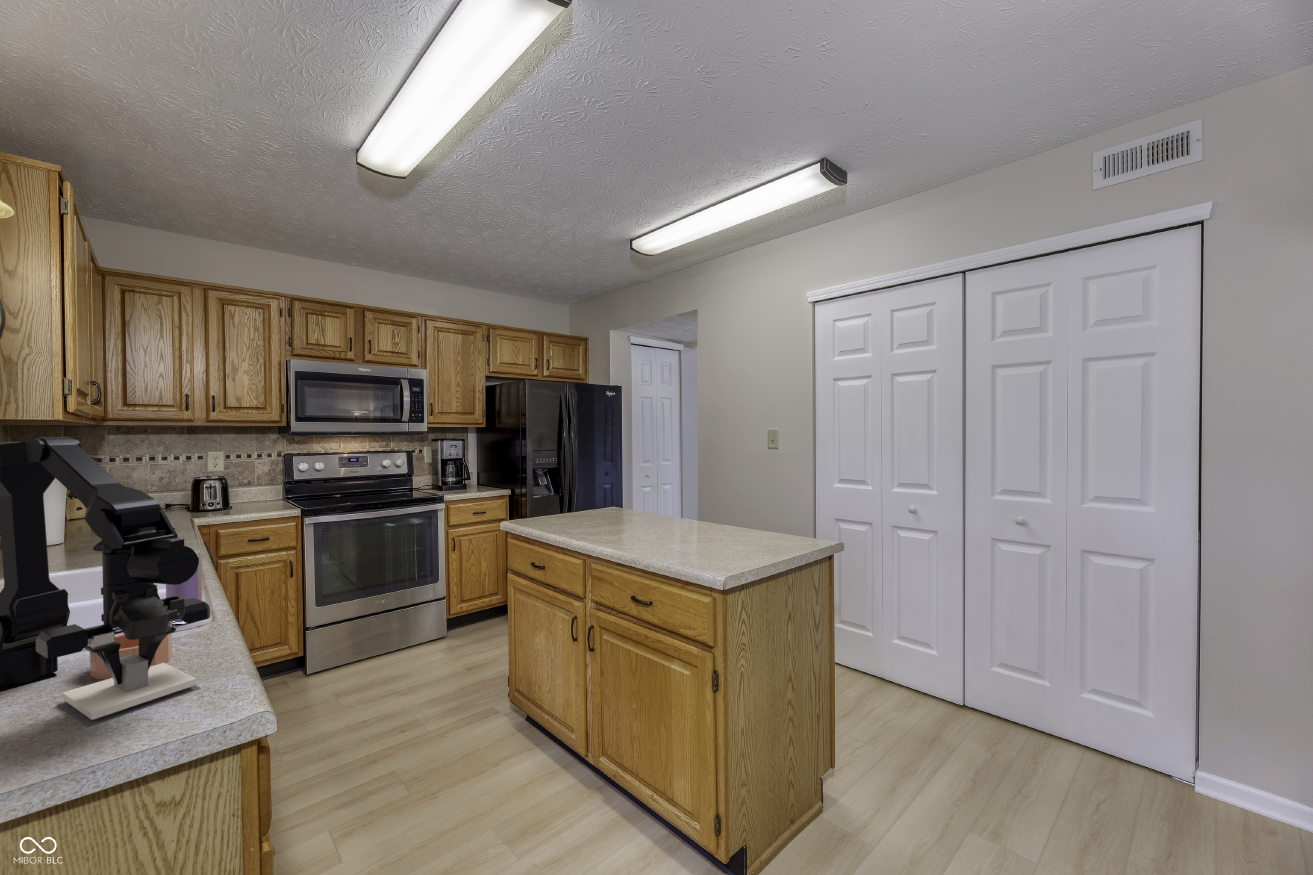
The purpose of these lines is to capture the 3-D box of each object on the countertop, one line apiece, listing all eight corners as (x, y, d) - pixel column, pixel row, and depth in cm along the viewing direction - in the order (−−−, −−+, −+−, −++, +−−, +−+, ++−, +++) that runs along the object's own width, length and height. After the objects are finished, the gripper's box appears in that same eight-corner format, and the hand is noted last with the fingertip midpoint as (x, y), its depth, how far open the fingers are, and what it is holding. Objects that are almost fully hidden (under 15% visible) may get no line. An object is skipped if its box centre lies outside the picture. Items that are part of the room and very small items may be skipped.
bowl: (104, 686, 89) (104, 656, 89) (82, 673, 94) (81, 644, 94) (181, 663, 98) (180, 635, 98) (157, 652, 103) (156, 625, 103)
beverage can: (186, 626, 116) (185, 555, 116) (158, 625, 116) (157, 555, 116) (209, 616, 122) (208, 549, 122) (183, 616, 122) (182, 549, 122)
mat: (88, 730, 76) (88, 727, 76) (56, 707, 83) (56, 703, 83) (201, 691, 88) (201, 688, 88) (166, 673, 94) (166, 670, 94)
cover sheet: (91, 719, 77) (91, 684, 77) (62, 699, 83) (61, 666, 83) (196, 684, 87) (195, 653, 87) (163, 668, 93) (163, 639, 93)
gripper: (59, 605, 73) (62, 722, 73) (225, 572, 89) (226, 668, 89) (33, 593, 78) (35, 701, 79) (193, 564, 94) (195, 654, 95)
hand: (131, 680), depth 85 cm, fingers closed on cover sheet, 2 cm apart
